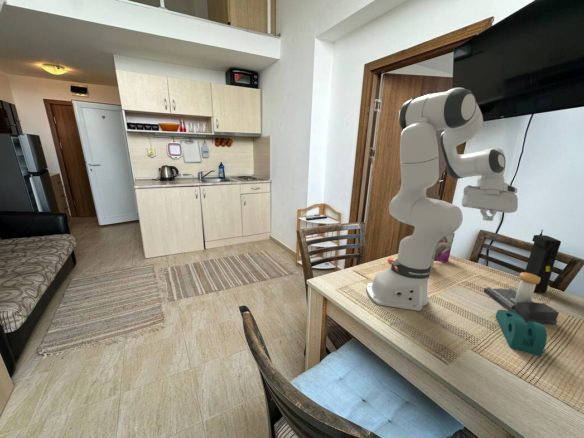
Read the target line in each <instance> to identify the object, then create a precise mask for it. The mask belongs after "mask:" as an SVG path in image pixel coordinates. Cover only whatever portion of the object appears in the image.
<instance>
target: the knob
mask: <svg viewBox="0 0 584 438" xmlns="http://www.w3.org/2000/svg"><path fill="white" fill-rule="evenodd" d="M518 278H519V283H518V287H517V290H516V291H517V293H516V296H515V298H509V299H508V300H509V301H510V302H511V303H513V304H514V305H515V306H516V304H517V302H527V303H530V301H532V299H533V295H534V289H535V286H536V284H539V282H540V279H541V278H540V277H539V276H537V275H534V274H531V273H526V272H525V271H524V272H522V271H521V272H520V273H519V276H518ZM520 279H521V280H520Z"/></svg>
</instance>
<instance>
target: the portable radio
mask: <svg viewBox="0 0 584 438" xmlns="http://www.w3.org/2000/svg"><path fill="white" fill-rule="evenodd" d="M543 231H544V229H541V232H540V233H539V234H534V235H533V237H532V242H533V244H532V245H533V246H532V249H531V251H530V254H529V257H528V261H527V263H526V267H525V271H524V272H526V273H531V274H534V275H537V276H539V277H540V278H541V279H540V282H539V284H536V286H535V289H534V292H535V293H542V294H543V293H544V294H546V292H547V291H548V287H549V284H550V283H549V282H550V279H551V276H552V272H553V270H554V269H553V267H554V264H555V262H556V259H557V256H558V254H559V253H558V252H559V249H560V246H561V243H562V241H561V240H559V239H556V238H554V237H552V236H549V235H543ZM520 280H521V279H520V278H519V281H520ZM534 292H533V293H534Z"/></svg>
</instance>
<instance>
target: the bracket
mask: <svg viewBox="0 0 584 438" xmlns="http://www.w3.org/2000/svg"><path fill="white" fill-rule="evenodd" d="M495 319H496V322H497V324H498V326H499V328H500V330H501V332H502V335H503V336H504V338H505V340H506V343H507V344H508V347H509V348H510V349H514V350H517V351H520V352H523V353H526V354H530V355H533V354H534V355H533V356H536V357H542V356H543V353H544V349H545V348H546V344H547V341H548V333H547V330H546V327H545V324H540V323H536V322H532V321H529V322H527V323H525V321H524V320H523V318H522V317H520V316H519V315H517V314H515V313H513V312H510V311H508V310H507V309H498V310H497V311H496V314H495Z"/></svg>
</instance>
